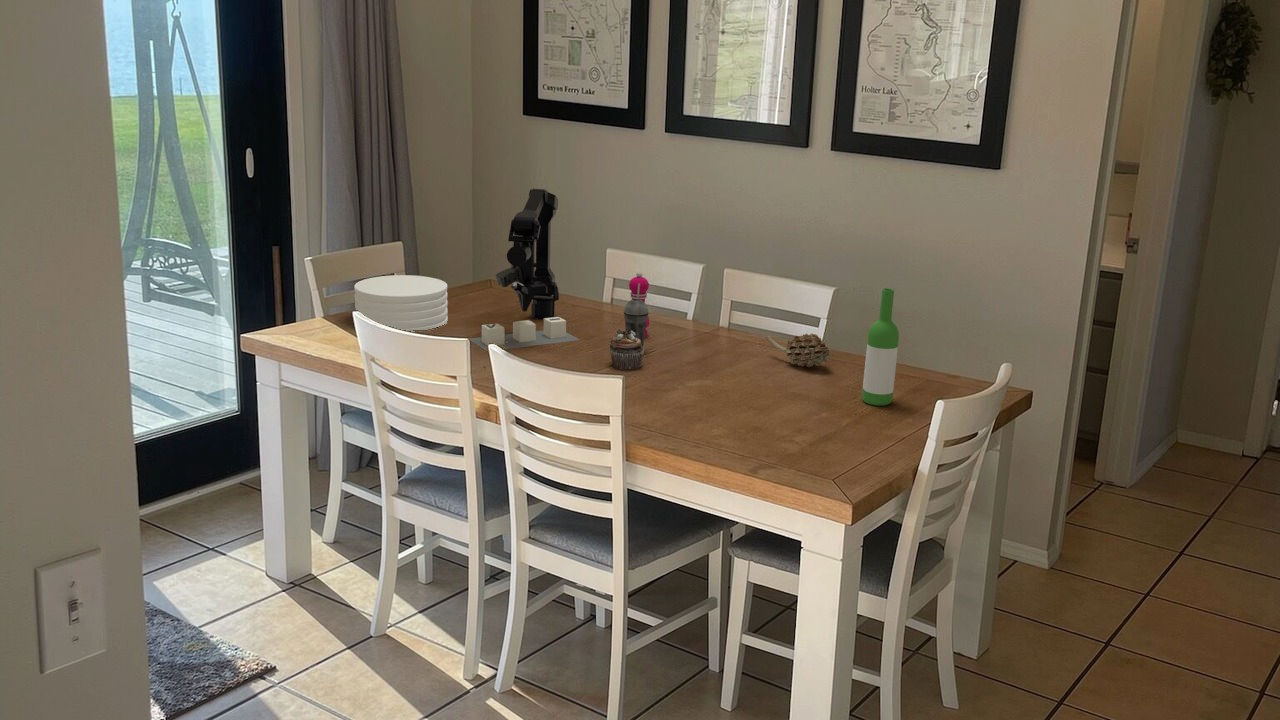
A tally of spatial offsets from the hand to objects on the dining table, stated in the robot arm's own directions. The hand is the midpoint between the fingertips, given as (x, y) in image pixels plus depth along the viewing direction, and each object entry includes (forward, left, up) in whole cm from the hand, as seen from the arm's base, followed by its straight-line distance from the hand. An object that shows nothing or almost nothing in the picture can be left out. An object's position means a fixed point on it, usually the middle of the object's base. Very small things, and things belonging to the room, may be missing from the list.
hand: (524, 311), depth 340 cm
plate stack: (+25, -35, -9) cm, 44 cm away
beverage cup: (-25, +23, -9) cm, 35 cm away
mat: (0, +1, -9) cm, 9 cm away
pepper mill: (-34, +9, -9) cm, 36 cm away
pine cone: (-61, +52, -9) cm, 80 cm away
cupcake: (-16, +34, -9) cm, 38 cm away
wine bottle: (-60, +88, -9) cm, 107 cm away
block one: (-10, +1, -8) cm, 13 cm away
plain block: (0, +1, -8) cm, 8 cm away
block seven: (+10, +1, -8) cm, 13 cm away
